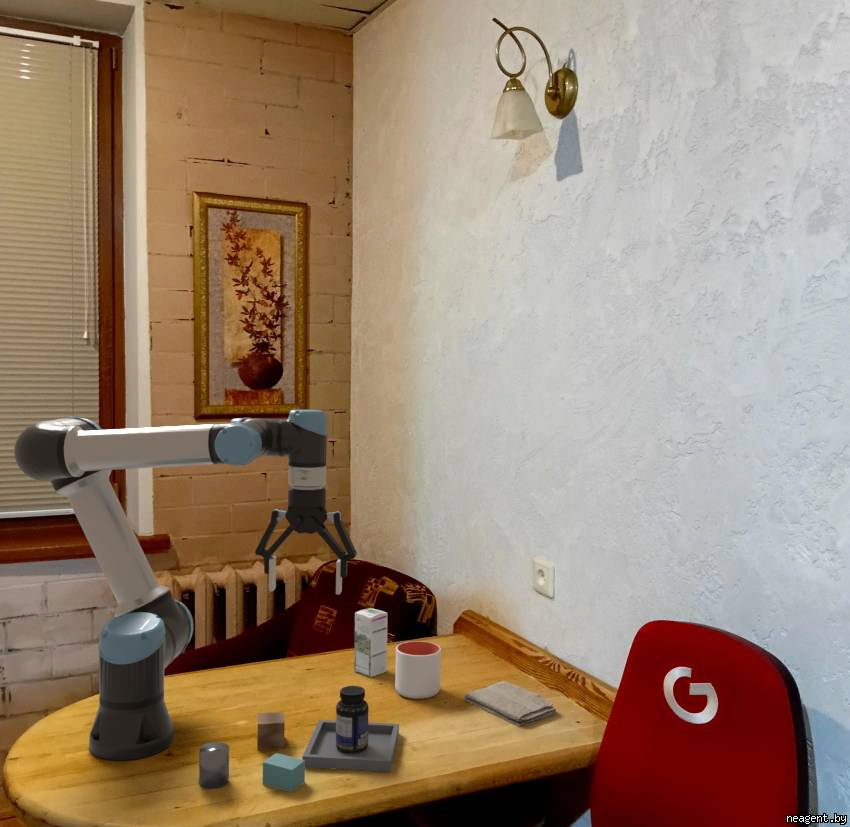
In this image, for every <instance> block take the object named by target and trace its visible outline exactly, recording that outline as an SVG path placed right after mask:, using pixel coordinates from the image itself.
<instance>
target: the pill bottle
mask: <svg viewBox="0 0 850 827" xmlns="http://www.w3.org/2000/svg"><path fill="white" fill-rule="evenodd" d="M365 697H366V689H365V688H364V687H363V686H359V685H347V686H343V687H342V688H341V689H340V690H339V698H340V700H339V701H338V702H337V704H336V706H335V710H336V711H335V712H336V713H335V714H336V715H335V721H336V747H337V749H338V750H339V751H342V752H344V753H357V752H361V751H363V750H365V749H366V748H367V746H368V722H369V704H368V702H367V701H366V700H365Z"/></svg>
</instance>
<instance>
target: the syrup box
mask: <svg viewBox="0 0 850 827" xmlns="http://www.w3.org/2000/svg"><path fill="white" fill-rule="evenodd" d="M387 658H388V612H386V611H384V610H380V609H375V608H372V607H370V608H364V609H360V610H358V611H355V613H354V664H353V665H354V672H355V673H358V674H360V675H363V676H365V677H368V678H373V676H374V677H377V676H379V675H378V674H380V675H382V674H384V672H385V673H387V672H388V671H387V670H388V659H387ZM381 673H382V674H381ZM376 675H377V676H376Z"/></svg>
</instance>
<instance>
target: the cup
mask: <svg viewBox="0 0 850 827" xmlns="http://www.w3.org/2000/svg"><path fill="white" fill-rule="evenodd" d="M441 654H442V649H441V646H439V645H438V644H436V643H433V642H429V641H422V640H421V641H419V640H418V641H417V640H413V641H405V642H401V643H399V644H398V645H397V646H396V647H395V671H394V672H395V673H394V674H395V680H394V684H395V685H394V688H395V690H396V692H397V693H398V694H399V695H400V696H402V697H405V698H408V699H414V700H425V699H428V698H432V697H434V696H436V695H438V693H439V692H440V688H441V665H442V664H441V659H442V655H441ZM424 698H425V699H424Z"/></svg>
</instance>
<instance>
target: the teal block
mask: <svg viewBox="0 0 850 827" xmlns="http://www.w3.org/2000/svg"><path fill="white" fill-rule="evenodd" d="M305 770H306V767H305V760H302V759H301V758H299V757H298V758H297V757H295V756H289V755H285V754H282V753H278V752H276V753H274V754H273V755H271V756H270V757H268V758H267V759H266V760H264V761H263V762H262V785H265V786H267V787H271V786H272V788H274V789H275V788H276V789H278V790H281V791H282V790H283V791H286V792H289V793H292V791H293V792H294V791H295V790H296V789H298V788H299V787H301V785H303V784H304V783H306V782H305V780H306V777H305V774H306V771H305ZM302 783H303V784H302ZM297 787H298V788H297Z"/></svg>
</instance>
